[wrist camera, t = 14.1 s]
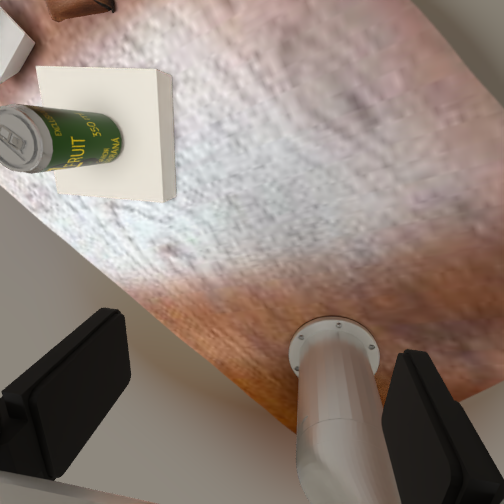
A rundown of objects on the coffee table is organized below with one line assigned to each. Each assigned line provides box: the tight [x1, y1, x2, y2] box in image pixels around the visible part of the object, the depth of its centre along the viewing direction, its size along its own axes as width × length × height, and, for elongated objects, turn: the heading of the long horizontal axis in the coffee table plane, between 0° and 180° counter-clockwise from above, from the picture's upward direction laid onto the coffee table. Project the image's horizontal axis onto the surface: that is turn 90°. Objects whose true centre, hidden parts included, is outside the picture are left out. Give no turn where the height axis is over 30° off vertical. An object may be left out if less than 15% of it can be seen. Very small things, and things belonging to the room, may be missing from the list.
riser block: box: [36, 66, 176, 203], centre depth 38 cm, size 14×14×4 cm
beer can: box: [0, 104, 123, 174], centre depth 30 cm, size 5×5×12 cm
